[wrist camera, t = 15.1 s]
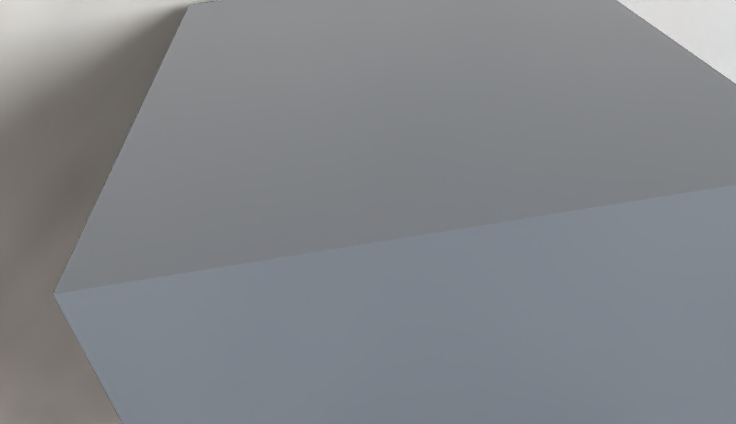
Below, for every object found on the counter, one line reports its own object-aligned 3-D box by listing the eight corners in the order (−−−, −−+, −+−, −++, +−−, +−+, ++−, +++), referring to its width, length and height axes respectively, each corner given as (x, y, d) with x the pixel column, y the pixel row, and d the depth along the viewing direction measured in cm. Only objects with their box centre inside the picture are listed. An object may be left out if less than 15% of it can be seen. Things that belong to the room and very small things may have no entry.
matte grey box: (543, -52, 13) (852, 165, 6) (534, 355, 20) (673, 695, 12) (188, 5, 13) (52, 294, 6) (299, 393, 20) (301, 755, 12)
